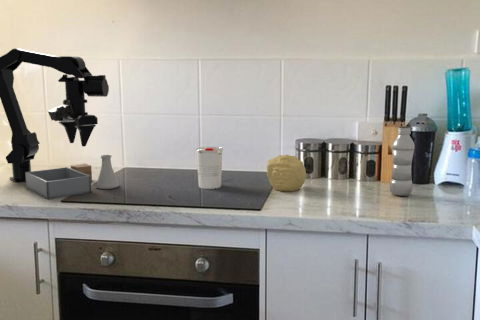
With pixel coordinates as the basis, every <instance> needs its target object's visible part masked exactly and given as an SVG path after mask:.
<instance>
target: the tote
mask: <svg viewBox="0 0 480 320" xmlns="http://www.w3.org/2000/svg"><path fill="white" fill-rule="evenodd" d="M25 176H26V181H25V188H26V189H27V190H30V191H31V192H33V193H35V194H37V195H38V196H40V197H42V198H44V199H46V200H52V199H58V198H65V197H70V196H77V195H82V194H83V195H84V194H89V193H92V190H93V189H92V180H91V176H90V175H87V174H84V173H81V172H79V171H76V170H73V169H71V167H67V166H64V167H56V168H49V169H41V170H33V171H32V170H31V172H25Z"/></svg>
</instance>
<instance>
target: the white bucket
mask: <svg viewBox="0 0 480 320" xmlns="http://www.w3.org/2000/svg"><path fill="white" fill-rule="evenodd" d="M223 150H224V148H222V147H219V146H199V147H197V148H195V151H196V166H197V167H196V168H197V179H198V188H200V189H203V190H216V189H220V188H221V187H222V174H223V173H222V172H223V171H222V170H223V167H222V166H223ZM215 188H216V189H215Z"/></svg>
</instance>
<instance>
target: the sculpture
mask: <svg viewBox="0 0 480 320" xmlns="http://www.w3.org/2000/svg"><path fill="white" fill-rule="evenodd" d="M306 171H307V170H306V168H305V165H304V162H303V161H302V160H300V159H299V158H298V157H297V156H296V155H289V154H283V155H282V154H279V155H277V156H275V157H273V158H270V159H268V160H267V163H266V176H267V178H268V181H269V183H270V186H272V188H273V189H274V190H277V191H278V192H279V191H280V192H295V191H298V190H300V189H301V188H302V187H303V186H304V184H305V181H306V179H307V178H306V177H307V172H306Z"/></svg>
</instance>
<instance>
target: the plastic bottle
mask: <svg viewBox="0 0 480 320" xmlns="http://www.w3.org/2000/svg"><path fill="white" fill-rule="evenodd" d="M411 133H412V131H411V127H410V126H397V131H396V134H397V136H396V137H395V138H394V140H393V141H392V144H391V155H392V172H391V178H390V182H389V191H390V193H391V194H392V195H396V196H399V197H402V196H403V197H404V196H405V197H406V196H409V195H411V193H412V191H413V187H414V186H413V180H412V164H413V158H414V153H415V143H414V141H413V138H412V137H411V136H410V135H411Z"/></svg>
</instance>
